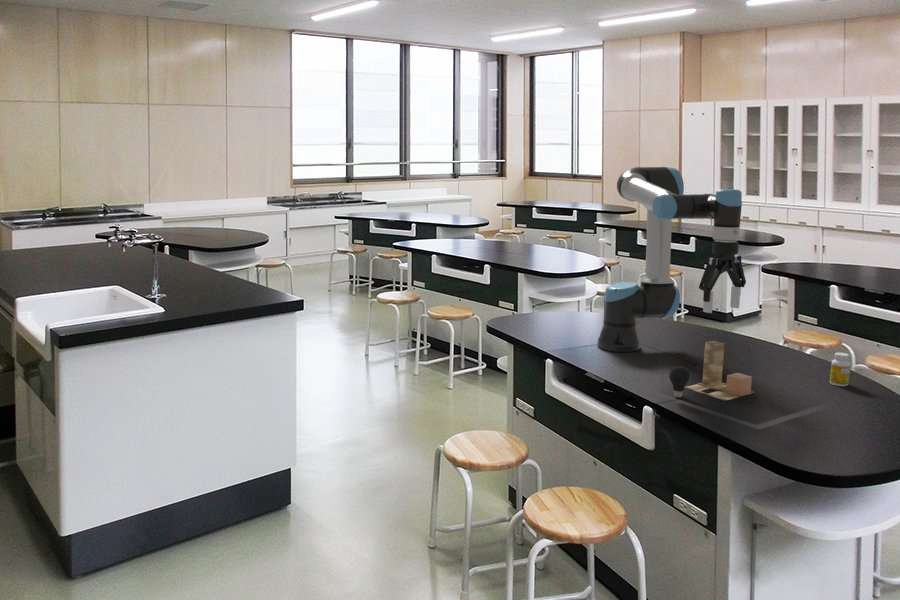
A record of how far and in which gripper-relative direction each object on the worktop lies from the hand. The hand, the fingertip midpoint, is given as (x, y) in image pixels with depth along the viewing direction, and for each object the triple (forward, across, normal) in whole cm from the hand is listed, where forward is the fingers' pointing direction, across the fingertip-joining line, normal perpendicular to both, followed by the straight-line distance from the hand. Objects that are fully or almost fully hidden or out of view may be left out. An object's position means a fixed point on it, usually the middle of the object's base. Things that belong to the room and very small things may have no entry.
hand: (721, 310), depth 252 cm
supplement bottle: (+24, +32, -22) cm, 45 cm away
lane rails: (+24, -8, -6) cm, 26 cm away
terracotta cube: (+23, -5, -11) cm, 26 cm away
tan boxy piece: (+24, -5, -6) cm, 25 cm away
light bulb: (+24, -23, -3) cm, 33 cm away
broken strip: (+24, -11, -6) cm, 27 cm away
